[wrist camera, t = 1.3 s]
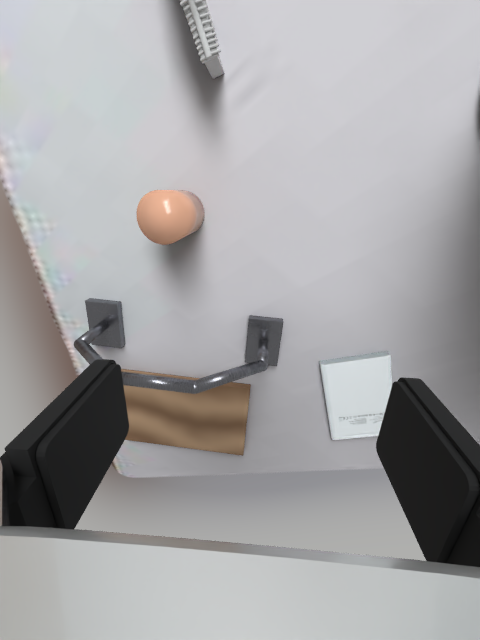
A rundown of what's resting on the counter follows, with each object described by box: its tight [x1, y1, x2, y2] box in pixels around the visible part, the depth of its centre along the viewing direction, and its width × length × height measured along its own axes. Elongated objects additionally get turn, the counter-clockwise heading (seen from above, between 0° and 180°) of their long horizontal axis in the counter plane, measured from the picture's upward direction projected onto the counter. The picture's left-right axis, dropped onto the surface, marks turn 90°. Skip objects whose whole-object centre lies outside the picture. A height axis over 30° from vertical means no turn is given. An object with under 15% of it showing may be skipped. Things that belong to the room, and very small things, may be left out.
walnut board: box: [121, 369, 251, 455], centre depth 42 cm, size 12×18×1 cm, turn 86°
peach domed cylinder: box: [137, 190, 204, 245], centre depth 28 cm, size 4×4×7 cm
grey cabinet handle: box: [74, 298, 283, 394], centre depth 32 cm, size 6×24×12 cm, turn 86°
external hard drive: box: [319, 351, 392, 440], centre depth 38 cm, size 2×8×12 cm
